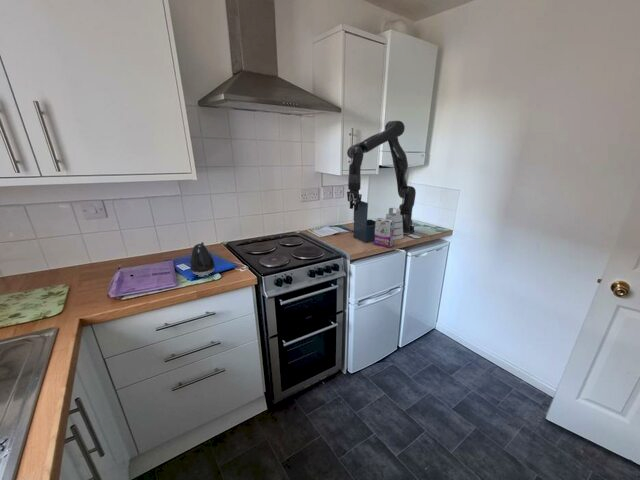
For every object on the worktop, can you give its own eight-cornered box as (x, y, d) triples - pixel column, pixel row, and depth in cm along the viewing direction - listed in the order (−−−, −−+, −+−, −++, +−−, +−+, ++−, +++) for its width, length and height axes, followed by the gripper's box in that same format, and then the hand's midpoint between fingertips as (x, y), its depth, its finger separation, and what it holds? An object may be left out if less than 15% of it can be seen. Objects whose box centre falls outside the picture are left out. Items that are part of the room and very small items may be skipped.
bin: (369, 234, 210) (370, 219, 206) (382, 240, 198) (383, 224, 194) (353, 236, 203) (353, 221, 199) (365, 243, 191) (366, 226, 187)
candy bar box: (393, 245, 188) (395, 220, 182) (389, 247, 184) (391, 221, 178) (377, 242, 193) (378, 217, 187) (373, 244, 189) (375, 219, 183)
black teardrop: (218, 269, 146) (213, 240, 140) (213, 278, 136) (208, 247, 131) (196, 270, 144) (190, 240, 139) (189, 279, 135) (182, 248, 129)
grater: (391, 240, 198) (393, 210, 191) (381, 236, 206) (383, 207, 199) (403, 238, 203) (406, 209, 196) (393, 234, 212) (395, 206, 204)
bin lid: (355, 198, 194) (348, 199, 191) (367, 202, 182) (361, 203, 180) (354, 220, 199) (347, 221, 197) (366, 225, 187) (360, 226, 185)
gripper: (366, 182, 177) (365, 211, 183) (353, 180, 188) (352, 206, 195) (355, 183, 173) (354, 212, 180) (343, 180, 185) (342, 207, 191)
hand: (353, 209), depth 187 cm, fingers closed on bin lid, 5 cm apart
